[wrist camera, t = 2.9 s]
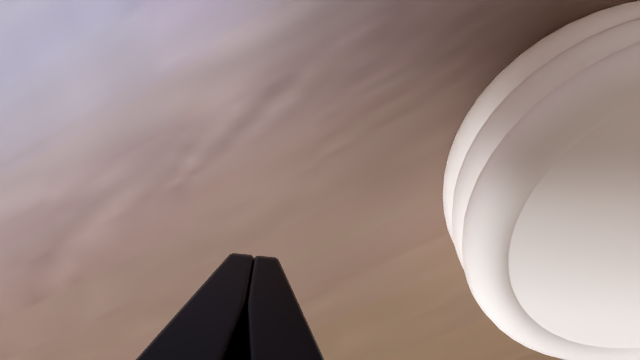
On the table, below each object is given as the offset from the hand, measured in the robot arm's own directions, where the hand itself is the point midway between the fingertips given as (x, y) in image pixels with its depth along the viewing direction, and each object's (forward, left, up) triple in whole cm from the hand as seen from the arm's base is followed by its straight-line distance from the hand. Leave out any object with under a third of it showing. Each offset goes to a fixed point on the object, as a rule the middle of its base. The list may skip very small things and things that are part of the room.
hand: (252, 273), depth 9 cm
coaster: (0, -10, -6) cm, 12 cm away
